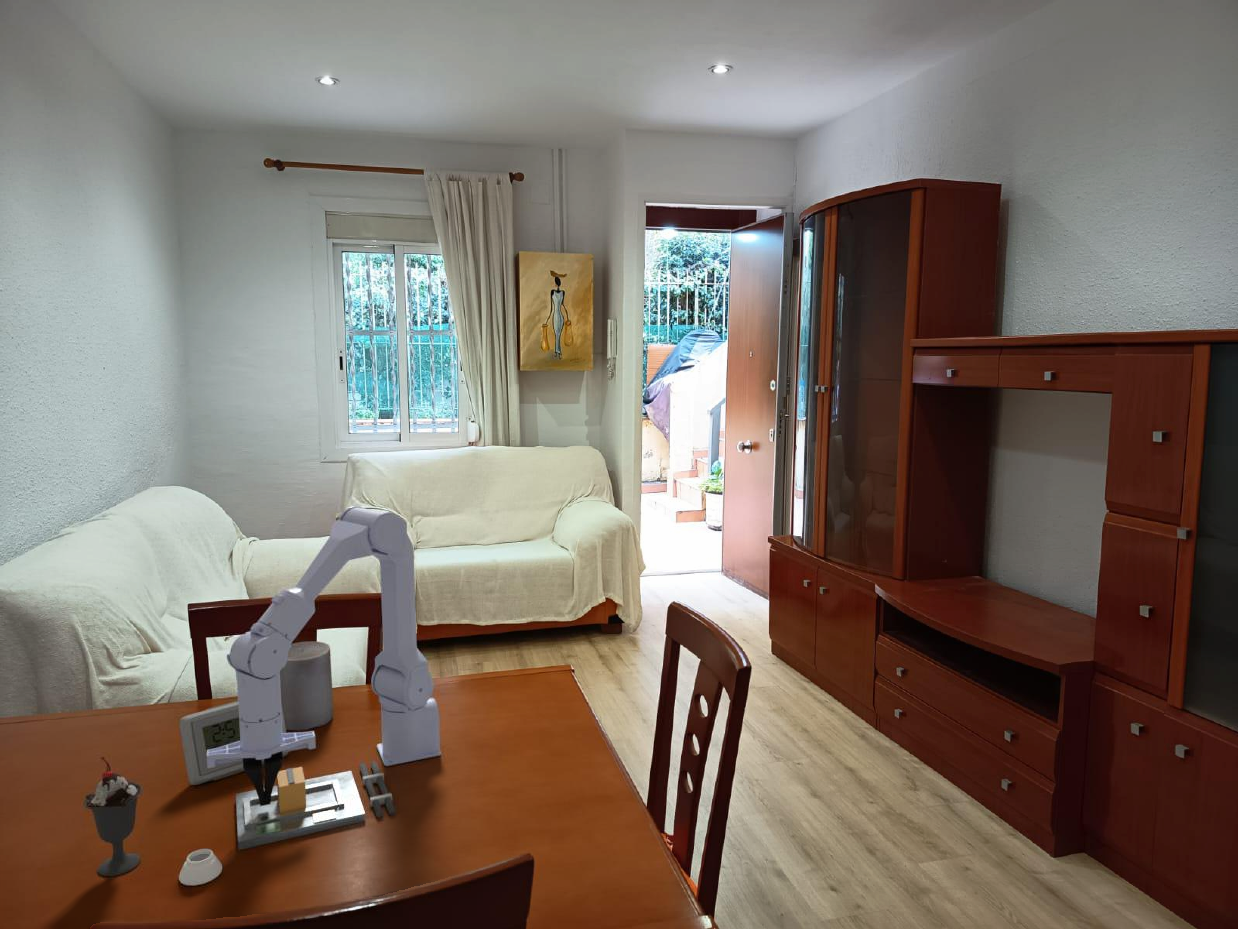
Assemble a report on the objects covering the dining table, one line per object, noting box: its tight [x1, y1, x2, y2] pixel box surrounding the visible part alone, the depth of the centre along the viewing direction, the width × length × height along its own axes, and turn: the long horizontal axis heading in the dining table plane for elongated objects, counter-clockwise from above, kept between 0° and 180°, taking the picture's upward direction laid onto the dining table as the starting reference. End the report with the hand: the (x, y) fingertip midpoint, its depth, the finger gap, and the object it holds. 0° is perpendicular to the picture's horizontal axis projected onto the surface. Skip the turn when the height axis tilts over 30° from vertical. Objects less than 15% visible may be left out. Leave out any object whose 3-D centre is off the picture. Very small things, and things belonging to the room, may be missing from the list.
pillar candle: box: [280, 640, 334, 732], centre depth 154 cm, size 10×10×15 cm
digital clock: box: [179, 700, 290, 786], centre depth 137 cm, size 16×9×11 cm, turn 123°
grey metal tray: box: [235, 770, 366, 851], centre depth 124 cm, size 17×14×2 cm
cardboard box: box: [276, 766, 306, 814], centre depth 123 cm, size 4×5×5 cm
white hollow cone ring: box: [178, 848, 223, 886], centre depth 108 cm, size 5×3×5 cm
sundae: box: [83, 755, 144, 877], centre depth 109 cm, size 7×7×15 cm
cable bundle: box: [359, 760, 396, 819], centre depth 130 cm, size 3×16×1 cm, turn 26°
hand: (265, 802), depth 122 cm, fingers closed
